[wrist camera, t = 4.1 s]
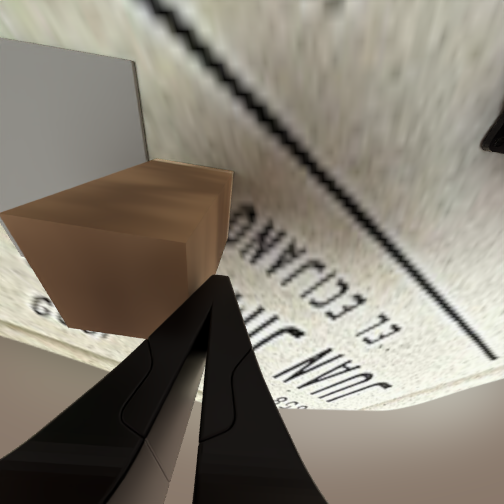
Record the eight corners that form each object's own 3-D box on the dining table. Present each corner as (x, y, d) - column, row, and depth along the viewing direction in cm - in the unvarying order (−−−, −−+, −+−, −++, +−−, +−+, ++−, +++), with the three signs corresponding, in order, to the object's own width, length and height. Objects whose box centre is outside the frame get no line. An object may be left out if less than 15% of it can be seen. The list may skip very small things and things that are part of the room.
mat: (134, 61, 10) (131, 60, 10) (164, 271, 18) (162, 273, 18) (-122, 17, 10) (-132, 14, 9) (24, 254, 17) (21, 256, 17)
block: (233, 171, 13) (185, 242, 5) (227, 237, 16) (190, 345, 8) (156, 158, 13) (-3, 213, 5) (164, 227, 16) (68, 327, 8)
